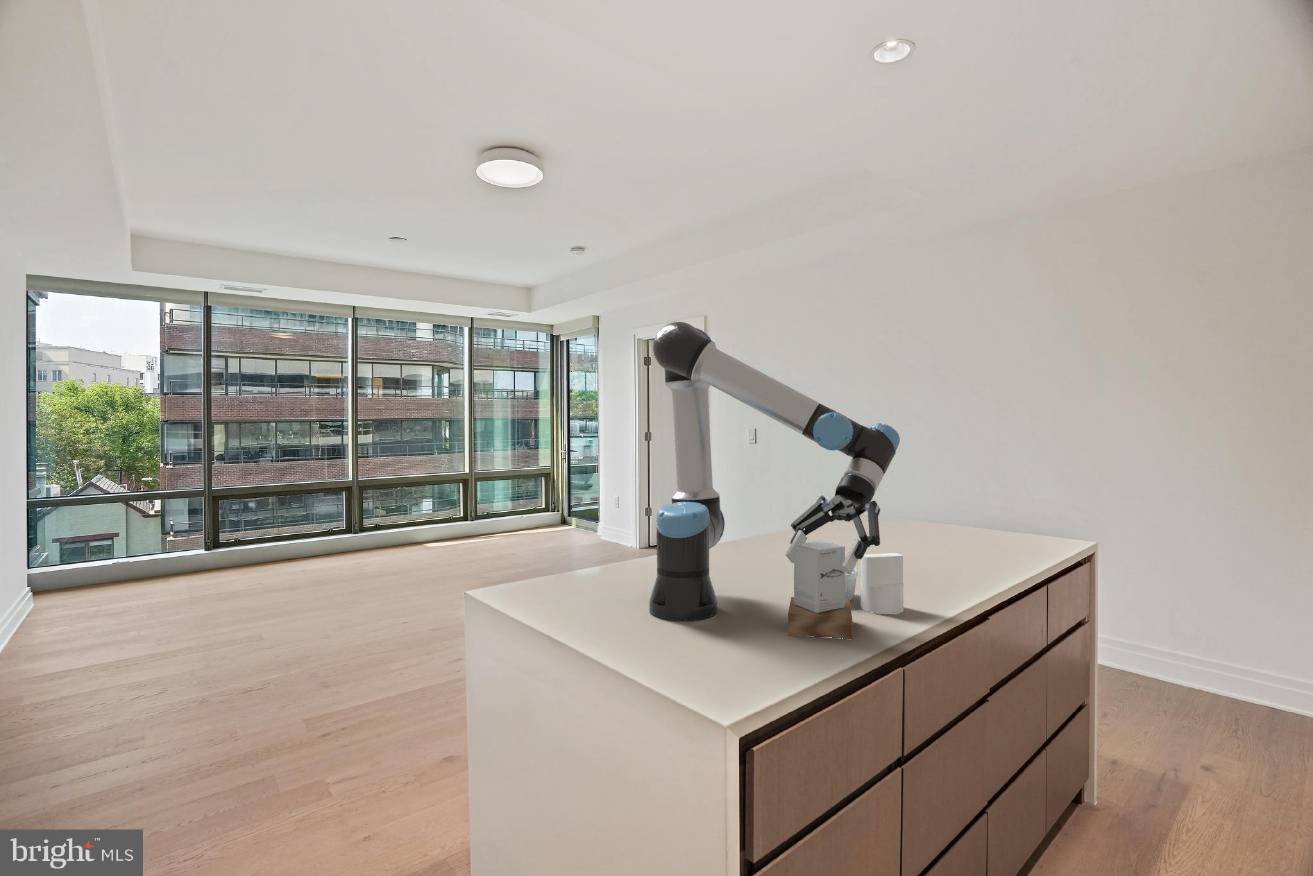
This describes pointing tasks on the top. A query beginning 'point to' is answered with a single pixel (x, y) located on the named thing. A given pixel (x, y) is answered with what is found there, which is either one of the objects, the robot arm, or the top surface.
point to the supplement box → (819, 576)
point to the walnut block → (820, 622)
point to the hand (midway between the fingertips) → (816, 564)
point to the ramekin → (850, 584)
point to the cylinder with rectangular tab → (882, 583)
